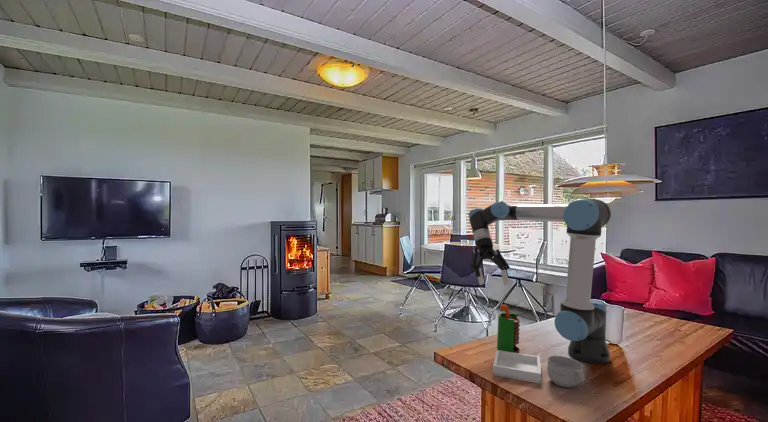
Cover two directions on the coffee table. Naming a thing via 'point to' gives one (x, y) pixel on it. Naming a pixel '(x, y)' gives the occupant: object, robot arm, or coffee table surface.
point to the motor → (508, 331)
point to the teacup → (565, 371)
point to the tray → (517, 366)
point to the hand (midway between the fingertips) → (494, 284)
